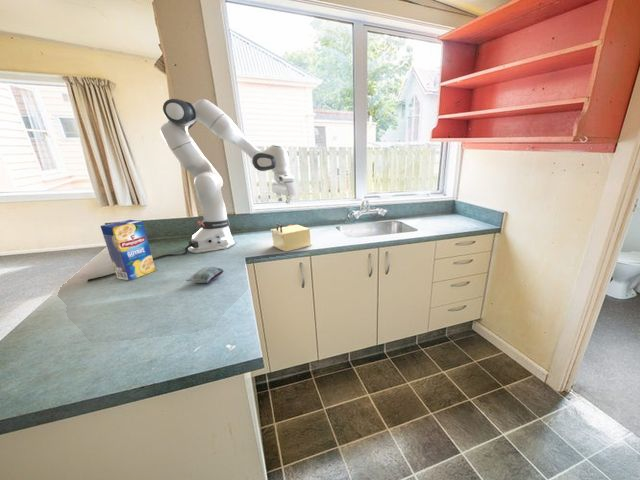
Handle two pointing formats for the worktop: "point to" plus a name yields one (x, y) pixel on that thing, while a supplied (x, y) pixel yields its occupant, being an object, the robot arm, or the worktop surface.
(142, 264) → the beverage box
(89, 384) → the worktop surface
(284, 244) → the yellow open box
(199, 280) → the packaged food
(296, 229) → the lid
